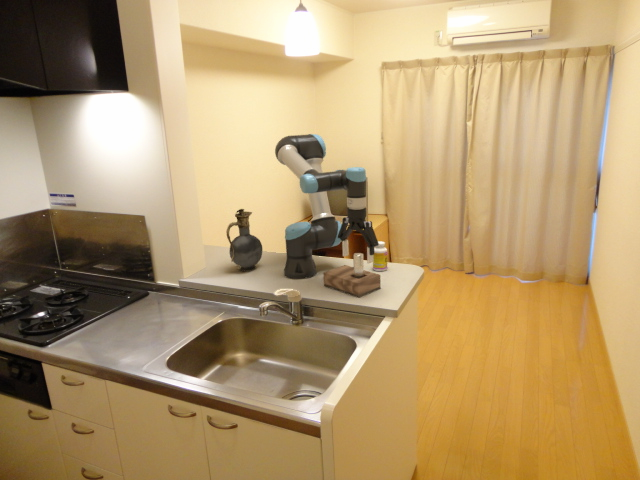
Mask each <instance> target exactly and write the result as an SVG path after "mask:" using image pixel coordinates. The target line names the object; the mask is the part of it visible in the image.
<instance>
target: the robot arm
mask: <svg viewBox="0 0 640 480" xmlns="http://www.w3.org/2000/svg"><path fill="white" fill-rule="evenodd" d="M326 149H327V148H326V144H325V140H324V139H323V138H322V137H321V136H320V135H319V134H316V133H315V134H314V133H308V134H296V135H288V136H284V137H282V138H281V139H279V141H278V142H277V143H276V145H275V149H274V153H275V157H276V160H277V161H278V162H279V163H280V164H281V165H283V166H286V167H287V168H288V170H290V171H291V172H292V173H293V174H294V175H295V176H296V178H298V179H299V187H300V190H301V192H302V193H304V194H307V195H308V199H309V203H310V209H311V215H312V218H311V220H310V222H309V221H298V222H294V223H290V225H287V227H285V230H284V232H285V234H284V239H285V251H286V252H285V254H286V261H285V265H284V267H283V276H284V277H286V278H288V279H292V280H293V279H294V280H303V279H309V278H311V277H314V276H316V275H317V274H318V273H317V272H318V271H317V266H316V263H315V260H314V257H313V251H315V250H320V249H326V248H332V247H337V246H338V245H340V243H341V249H342V257H347V256H349V254H350V253H349V251H350V250H349V239H348V238H349V236H350V235H351V233H352V232H353V231H355V232H359V234H361V236H362V237H363V239H364V241H365V242H366V244H367V247H366V251H367V252H366V257H367V258H366V259H367V260H366V261H367V264H373V255H374V248H375V246H378V245H379V243H378V238H377V235H376V233H375V231H374V227H373V222H372V220H370V221H366V217H367V208H366V207H367V174H366V169H365V167H363V166H362V167H361V166H360V167H358V166H353V167H348V168H347V169H337V170H334V171H327V172H323V168H322V164H323V162H324V158H325V157H326V156H327V155H326V154H327V152H326V151H327V150H326ZM341 190H344V191H346V205H347V206H346V207H347V209H346V211H347V212H346V215H347V216H345V217H343V218H342V223H341V222H340V220H336V215H333V214H332V212H331V207H330V202H329V198H328V193H327V192H333V191H341Z"/></svg>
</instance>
